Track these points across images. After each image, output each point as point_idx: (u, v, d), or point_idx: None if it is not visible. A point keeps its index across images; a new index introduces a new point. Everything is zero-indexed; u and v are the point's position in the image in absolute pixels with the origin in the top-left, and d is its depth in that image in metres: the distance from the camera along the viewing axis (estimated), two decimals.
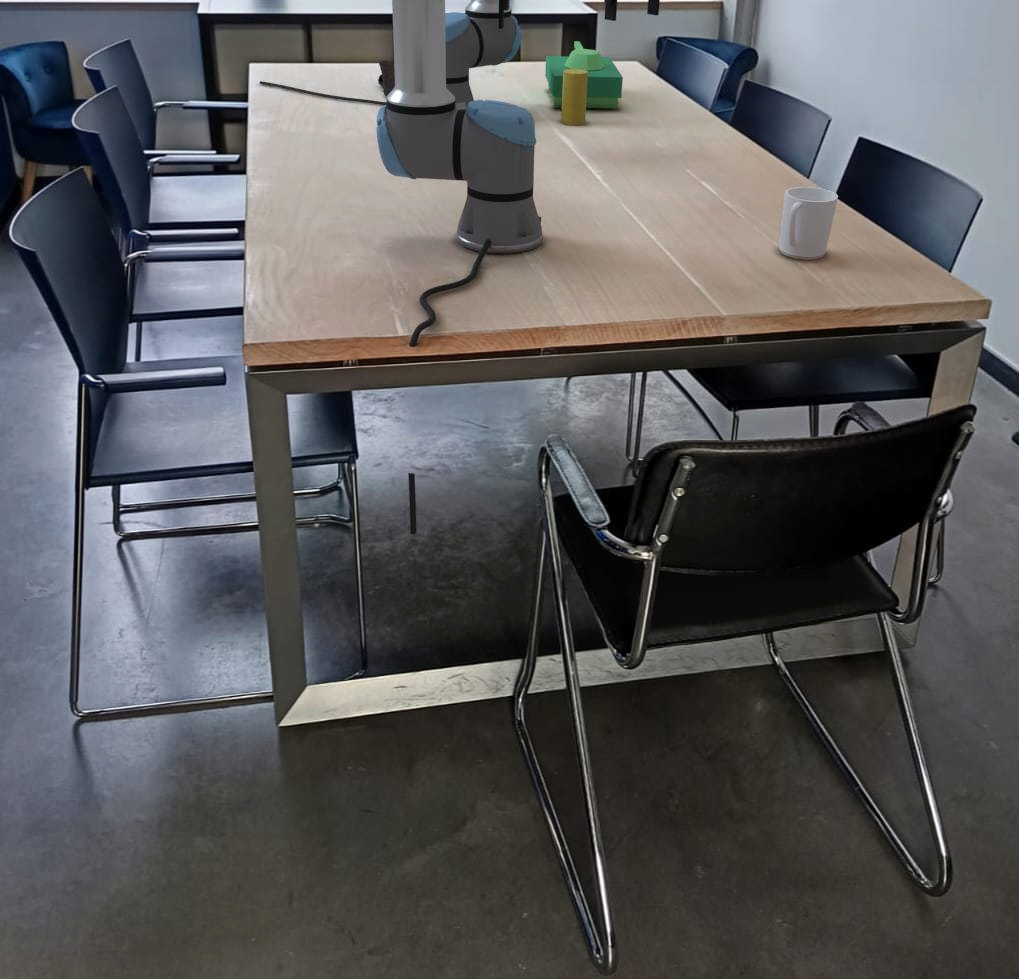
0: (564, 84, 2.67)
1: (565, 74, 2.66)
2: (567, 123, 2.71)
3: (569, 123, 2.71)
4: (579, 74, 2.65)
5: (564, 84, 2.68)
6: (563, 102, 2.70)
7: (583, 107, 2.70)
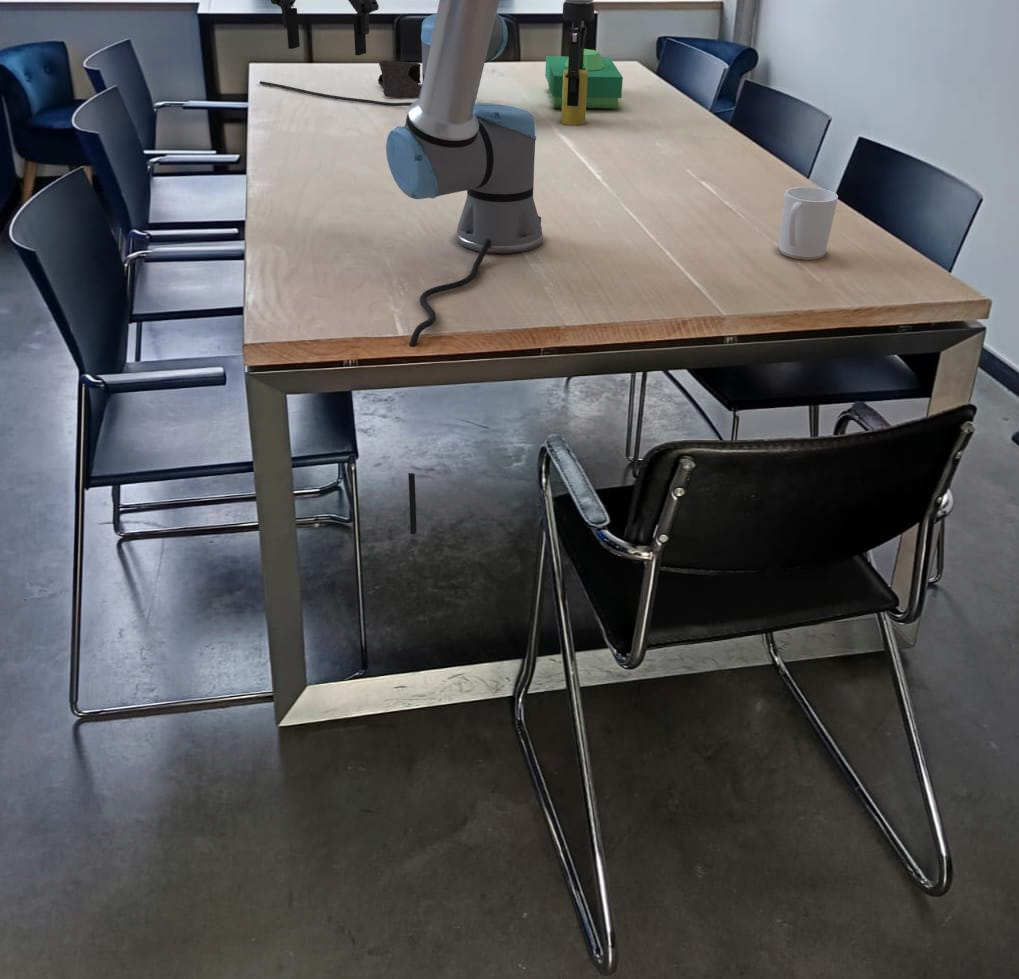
0: (564, 84, 2.67)
1: (565, 74, 2.66)
2: (567, 123, 2.71)
3: (569, 123, 2.71)
4: (579, 74, 2.65)
5: (564, 84, 2.68)
6: (563, 102, 2.70)
7: (583, 107, 2.70)
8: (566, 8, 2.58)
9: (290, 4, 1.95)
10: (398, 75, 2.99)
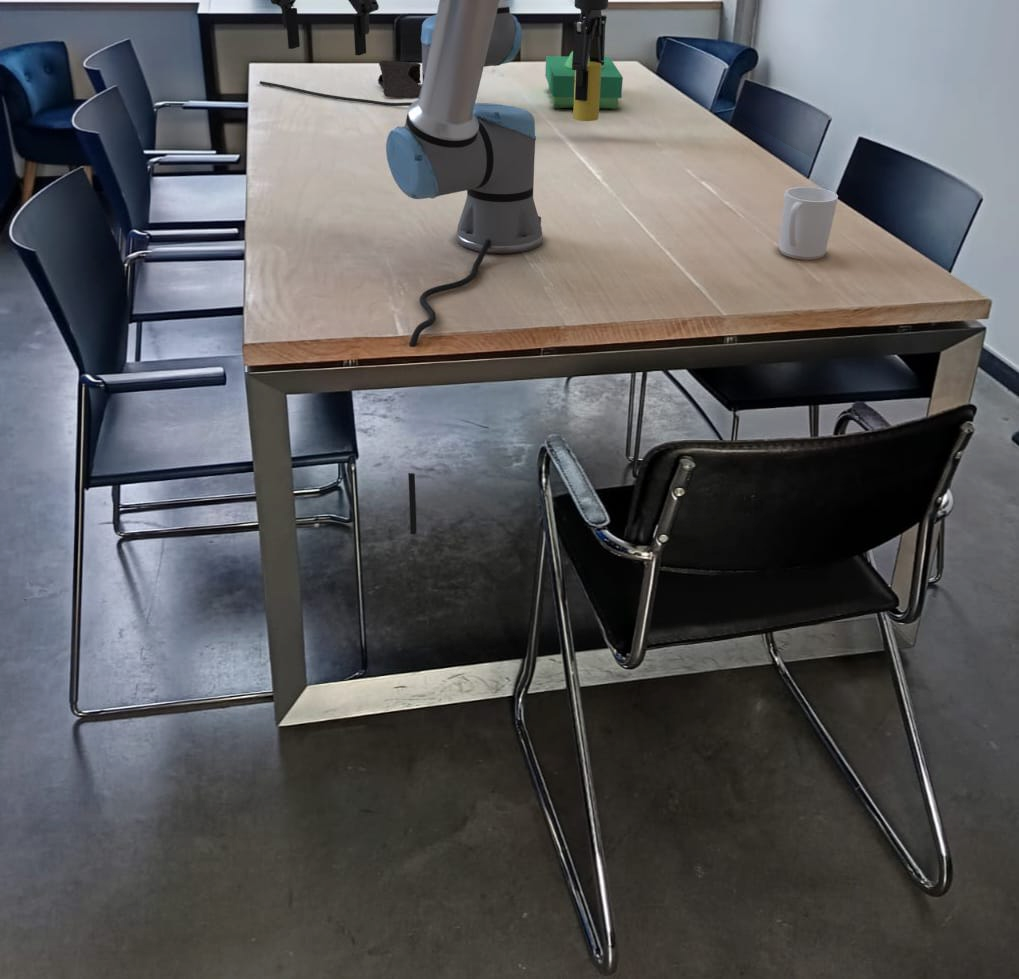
0: (575, 77, 2.52)
1: None
2: (576, 118, 2.56)
3: (578, 118, 2.55)
4: (588, 67, 2.49)
5: (575, 76, 2.52)
6: (574, 96, 2.55)
7: (594, 102, 2.53)
8: None
9: (290, 4, 1.95)
10: (398, 75, 2.99)
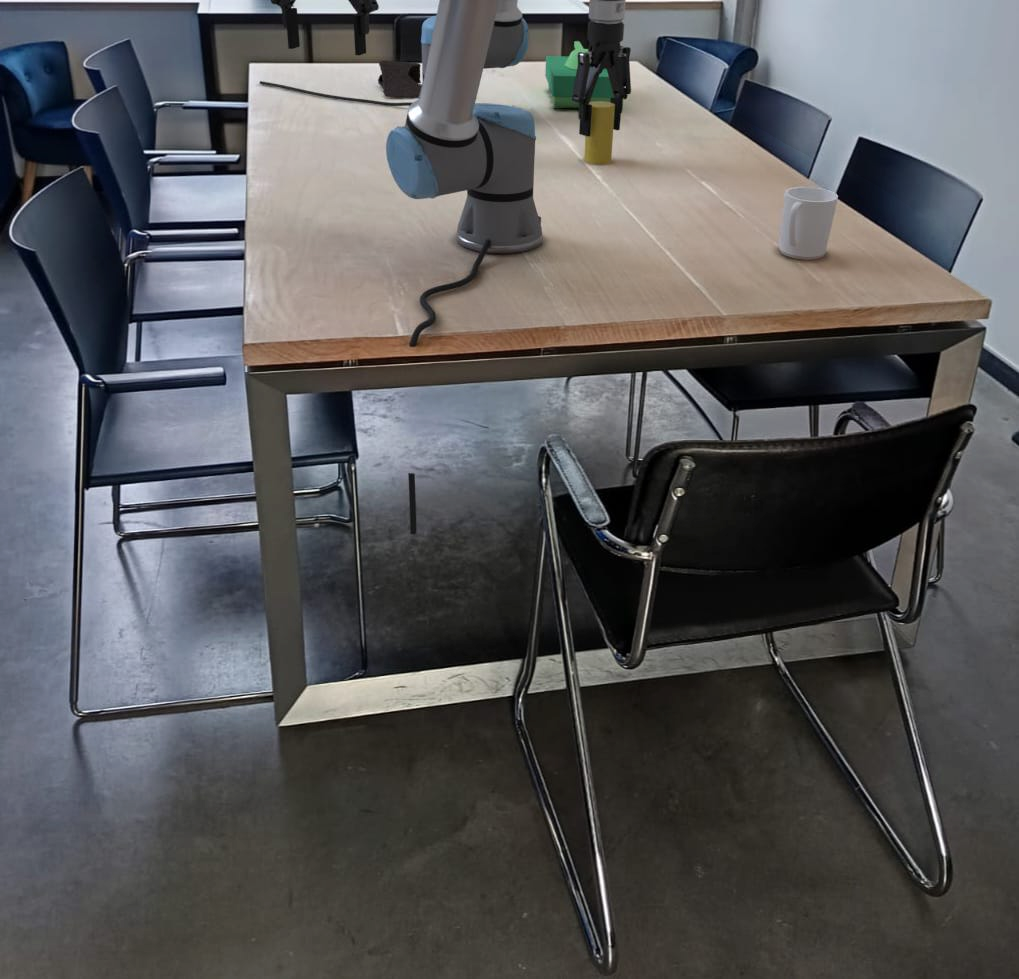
0: None
1: None
2: (585, 160, 2.42)
3: (586, 160, 2.41)
4: (596, 107, 2.34)
5: None
6: None
7: (601, 145, 2.38)
8: (588, 27, 2.29)
9: (290, 4, 1.95)
10: (398, 75, 2.99)
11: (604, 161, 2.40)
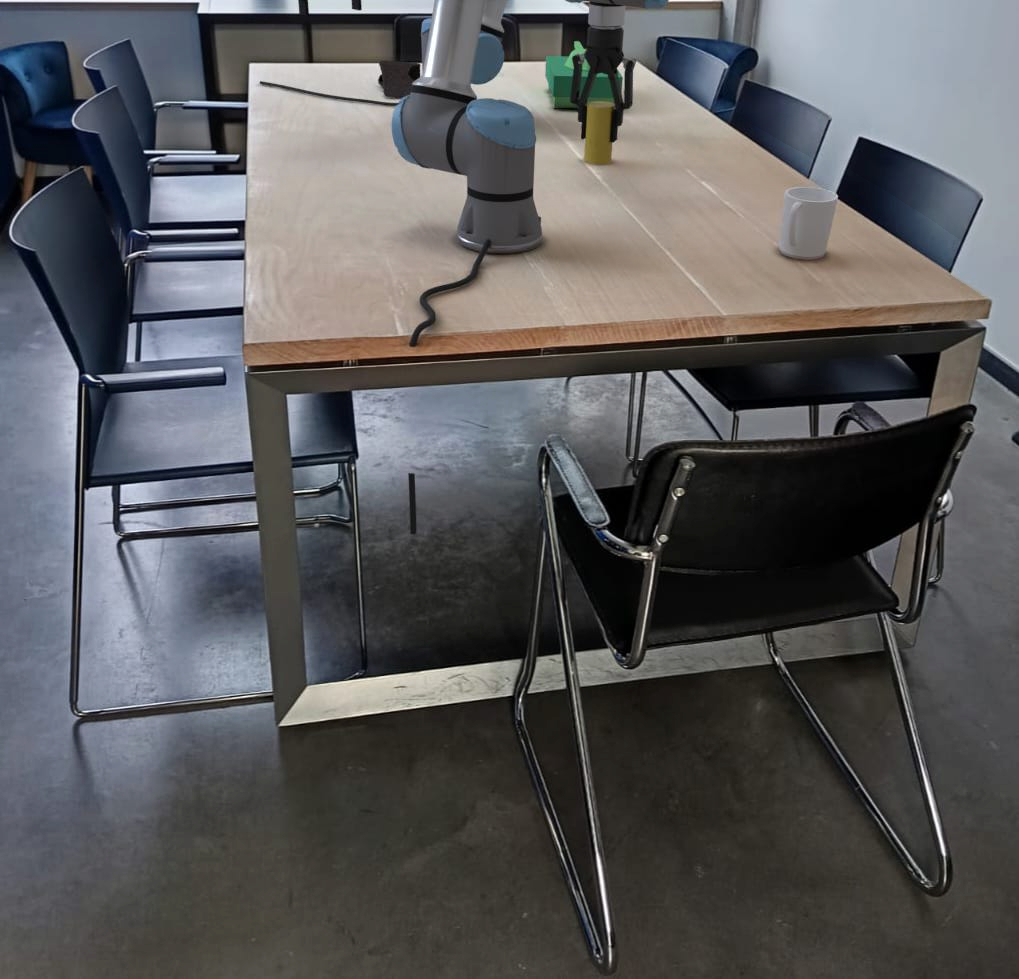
0: None
1: (587, 105, 2.37)
2: (585, 160, 2.42)
3: (586, 160, 2.41)
4: (596, 107, 2.34)
5: None
6: None
7: (601, 145, 2.38)
8: None
9: (585, 102, 2.38)
10: (398, 75, 2.99)
11: (604, 161, 2.40)
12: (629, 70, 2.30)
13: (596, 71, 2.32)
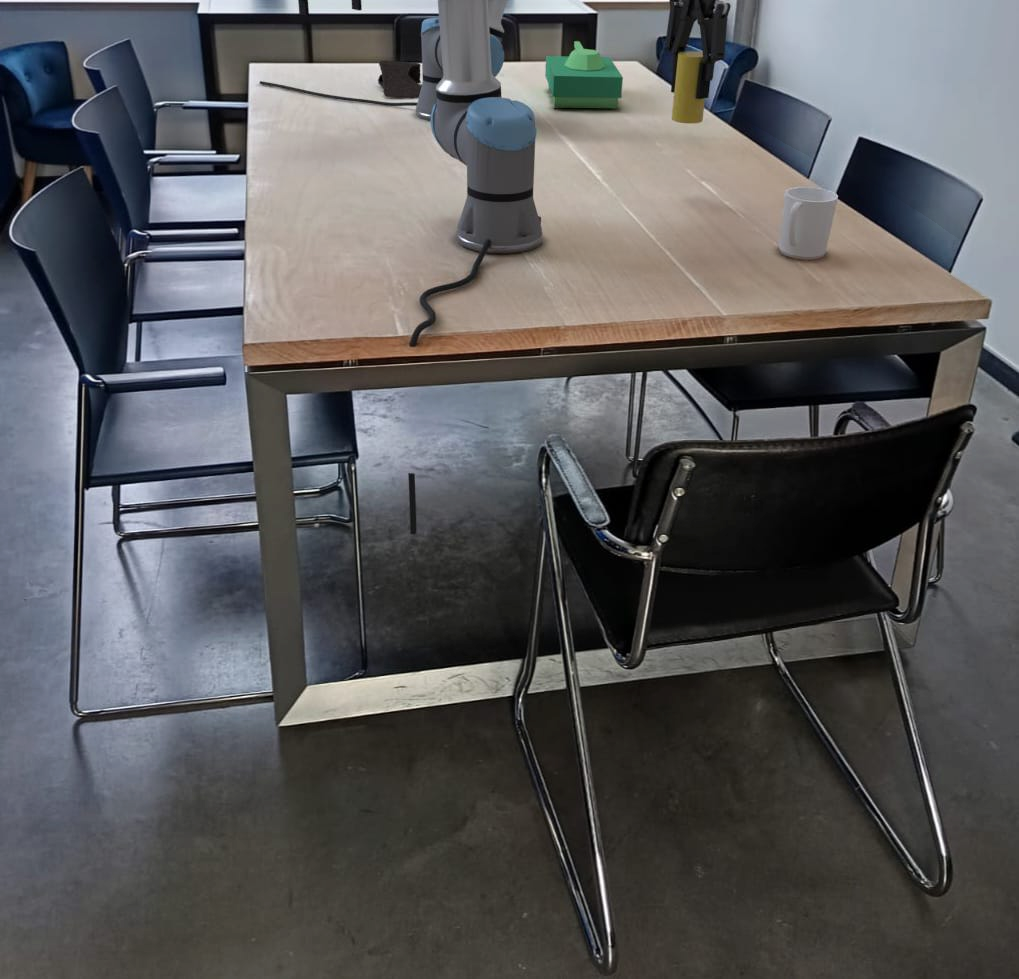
0: None
1: None
2: None
3: None
4: (682, 56, 2.07)
5: None
6: None
7: (685, 101, 2.10)
8: None
9: (681, 51, 2.11)
10: (398, 75, 2.99)
11: (687, 120, 2.12)
12: (718, 15, 1.99)
13: (689, 15, 2.05)
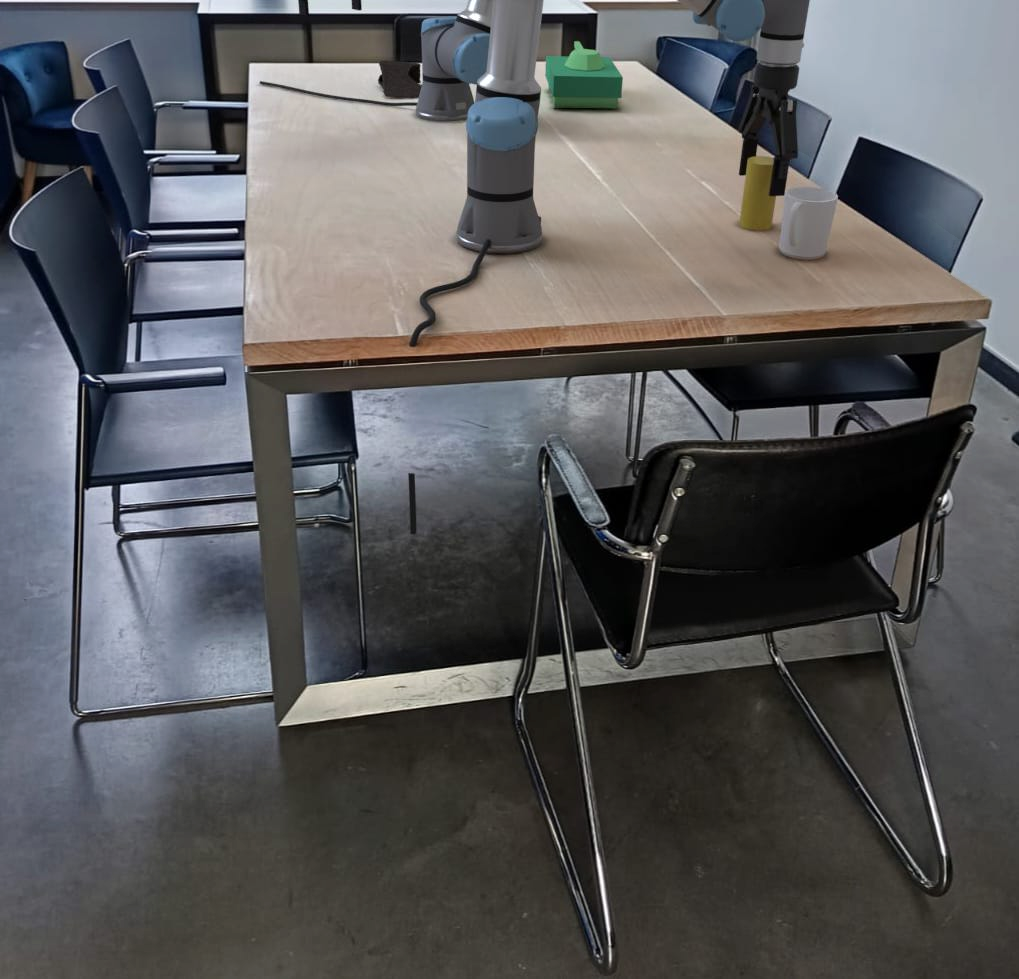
0: None
1: None
2: None
3: None
4: (749, 162, 1.99)
5: None
6: None
7: (748, 207, 2.02)
8: None
9: (752, 135, 2.04)
10: (398, 75, 2.99)
11: (750, 226, 2.04)
12: (782, 111, 1.89)
13: (762, 114, 1.96)
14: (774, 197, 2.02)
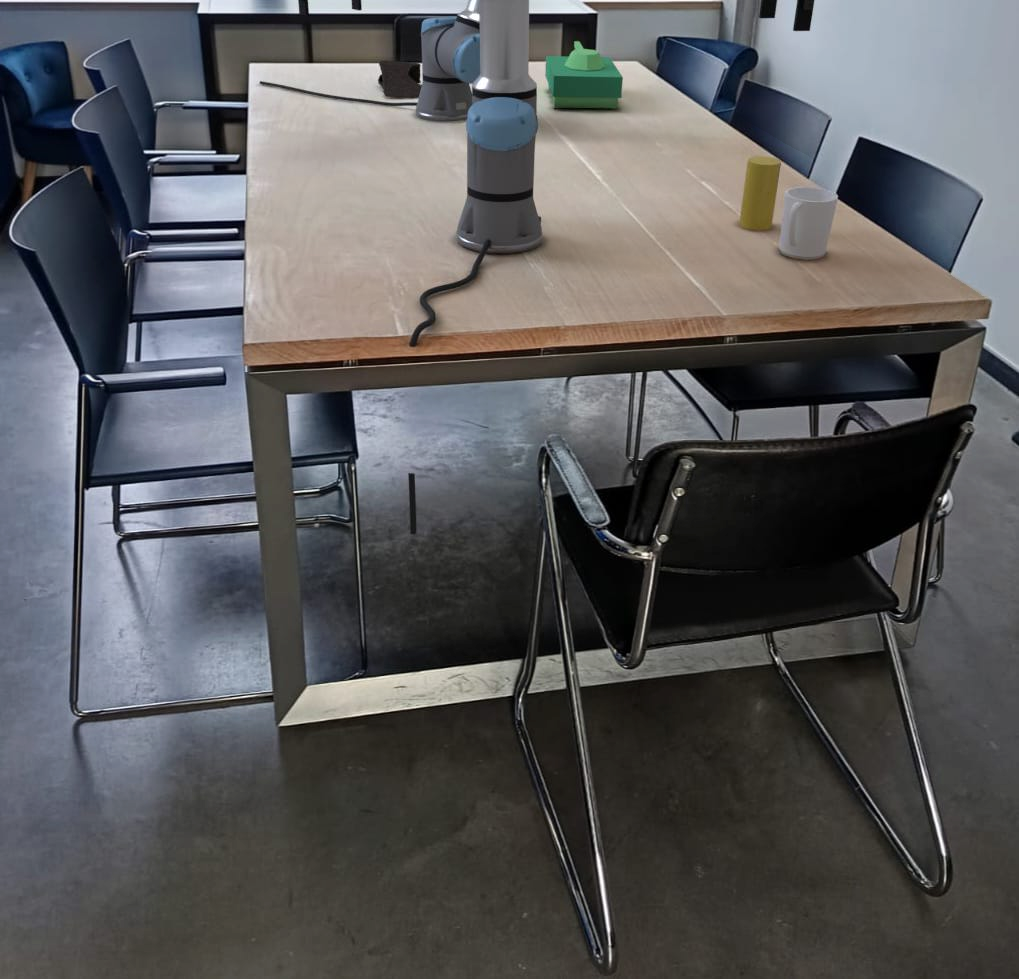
0: None
1: None
2: None
3: None
4: (749, 162, 1.99)
5: None
6: None
7: (748, 207, 2.02)
8: None
9: None
10: (398, 75, 2.99)
11: (750, 226, 2.04)
12: None
13: None
14: (774, 197, 2.02)
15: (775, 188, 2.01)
